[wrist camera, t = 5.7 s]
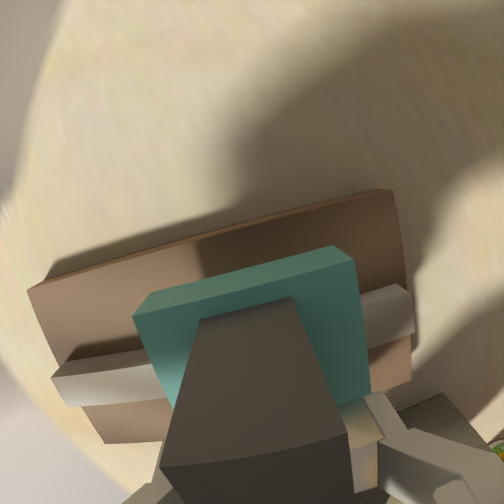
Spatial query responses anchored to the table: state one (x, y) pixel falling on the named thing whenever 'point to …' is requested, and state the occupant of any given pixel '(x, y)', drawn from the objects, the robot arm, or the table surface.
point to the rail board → (201, 267)
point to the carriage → (260, 380)
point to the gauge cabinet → (434, 422)
